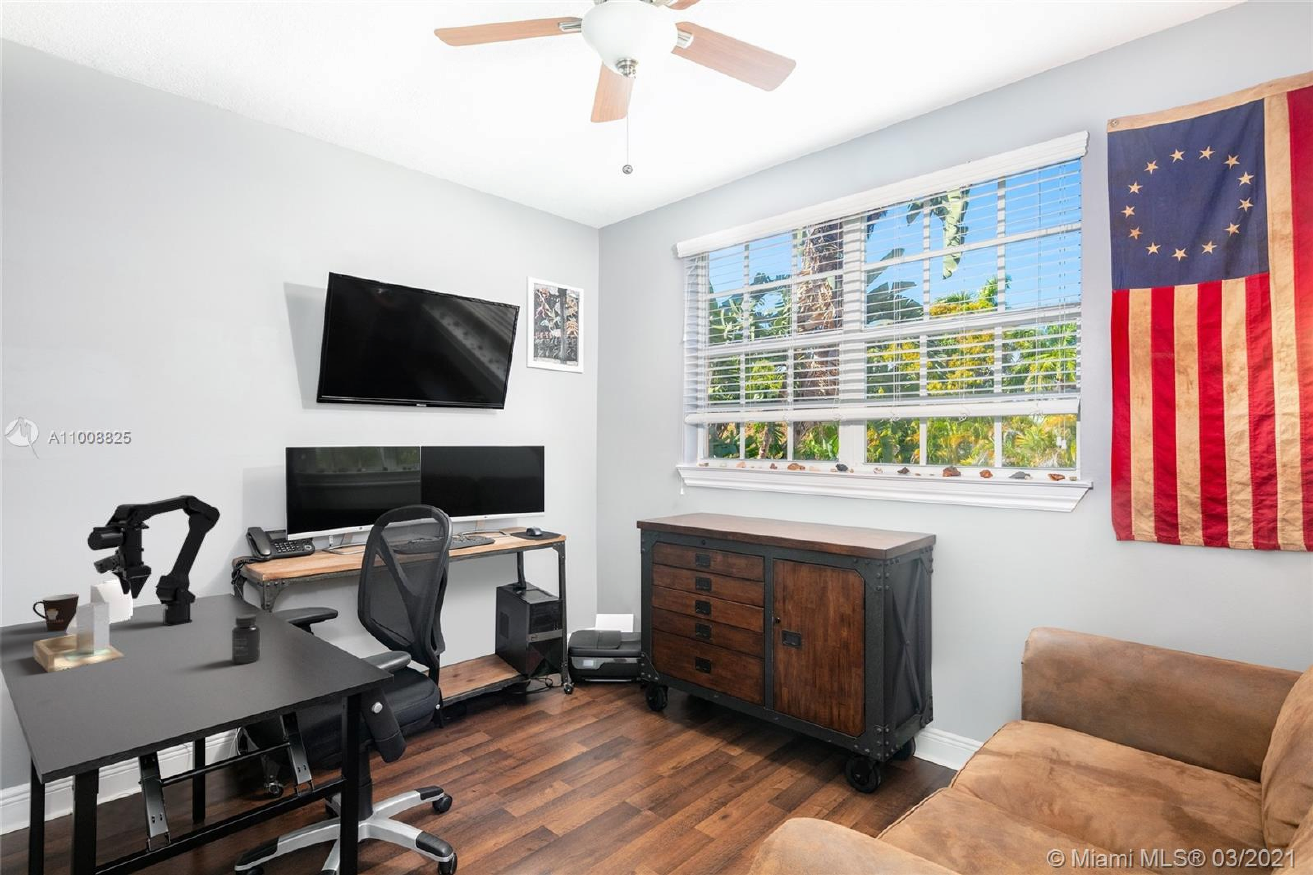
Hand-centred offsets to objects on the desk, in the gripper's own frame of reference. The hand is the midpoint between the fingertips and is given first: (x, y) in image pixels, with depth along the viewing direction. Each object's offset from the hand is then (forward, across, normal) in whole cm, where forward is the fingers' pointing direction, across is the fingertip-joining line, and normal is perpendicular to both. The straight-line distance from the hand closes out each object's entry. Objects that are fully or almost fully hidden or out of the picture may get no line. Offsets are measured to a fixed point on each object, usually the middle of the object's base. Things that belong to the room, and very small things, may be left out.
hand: (130, 596), depth 205 cm
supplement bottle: (+12, +53, +13) cm, 56 cm away
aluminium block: (+11, +13, -11) cm, 21 cm away
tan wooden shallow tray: (+12, +14, -15) cm, 24 cm away
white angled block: (+12, -28, +2) cm, 31 cm away
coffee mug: (+12, -28, -12) cm, 33 cm away
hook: (+12, -6, -12) cm, 18 cm away
